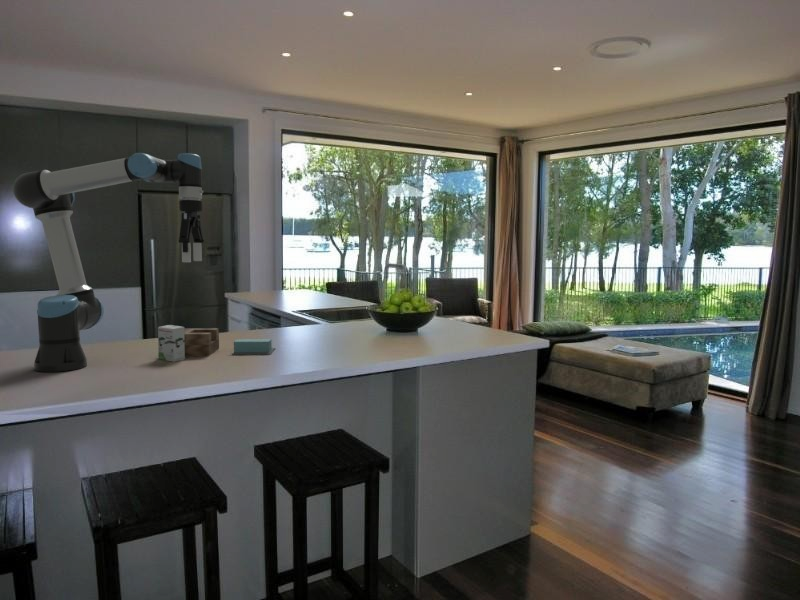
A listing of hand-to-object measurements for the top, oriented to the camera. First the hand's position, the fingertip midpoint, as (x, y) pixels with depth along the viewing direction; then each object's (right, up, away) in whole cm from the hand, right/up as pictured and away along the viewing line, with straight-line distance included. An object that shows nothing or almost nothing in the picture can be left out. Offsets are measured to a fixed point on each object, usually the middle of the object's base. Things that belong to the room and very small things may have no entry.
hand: (192, 261), depth 209 cm
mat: (+17, -33, +19) cm, 42 cm away
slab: (+17, -33, +19) cm, 41 cm away
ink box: (-9, -35, +4) cm, 36 cm away
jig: (-6, -33, +18) cm, 38 cm away
